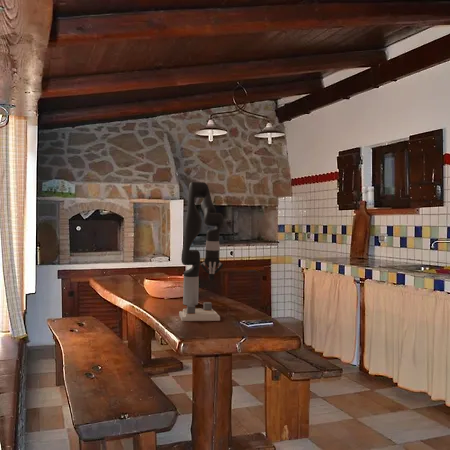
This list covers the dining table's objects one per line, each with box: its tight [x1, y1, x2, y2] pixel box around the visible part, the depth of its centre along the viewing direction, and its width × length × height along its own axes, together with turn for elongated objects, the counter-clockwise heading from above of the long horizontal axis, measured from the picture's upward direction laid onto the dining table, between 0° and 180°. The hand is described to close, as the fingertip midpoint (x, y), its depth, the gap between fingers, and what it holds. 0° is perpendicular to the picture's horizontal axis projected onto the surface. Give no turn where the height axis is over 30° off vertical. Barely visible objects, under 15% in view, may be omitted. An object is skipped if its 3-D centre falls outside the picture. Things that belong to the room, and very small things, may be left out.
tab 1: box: [186, 305, 196, 314], centre depth 288 cm, size 4×4×5 cm
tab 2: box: [202, 301, 213, 310], centre depth 299 cm, size 4×4×5 cm
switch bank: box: [178, 308, 221, 322], centre depth 293 cm, size 16×20×4 cm
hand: (211, 280), depth 301 cm, fingers closed
